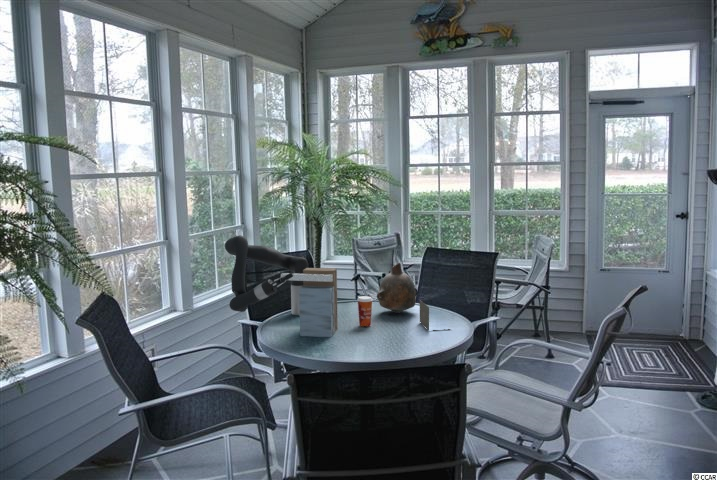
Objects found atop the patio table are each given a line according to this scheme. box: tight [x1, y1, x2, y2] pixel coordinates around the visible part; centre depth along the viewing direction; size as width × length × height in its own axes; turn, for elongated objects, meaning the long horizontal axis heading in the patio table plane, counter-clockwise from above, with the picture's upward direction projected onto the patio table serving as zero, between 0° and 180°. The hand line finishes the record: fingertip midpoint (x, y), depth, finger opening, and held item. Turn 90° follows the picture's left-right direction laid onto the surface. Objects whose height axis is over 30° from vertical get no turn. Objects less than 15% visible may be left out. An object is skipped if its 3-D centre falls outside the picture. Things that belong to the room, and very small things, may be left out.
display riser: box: [299, 267, 339, 338], centre depth 290 cm, size 15×16×32 cm
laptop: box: [419, 299, 430, 331], centre depth 301 cm, size 18×12×13 cm
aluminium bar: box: [280, 272, 333, 282], centre depth 286 cm, size 4×26×3 cm, turn 80°
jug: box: [376, 262, 418, 314], centre depth 330 cm, size 24×21×30 cm
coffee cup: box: [356, 295, 373, 327], centre depth 304 cm, size 8×8×15 cm
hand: (293, 273), depth 287 cm, fingers closed on aluminium bar, 3 cm apart
